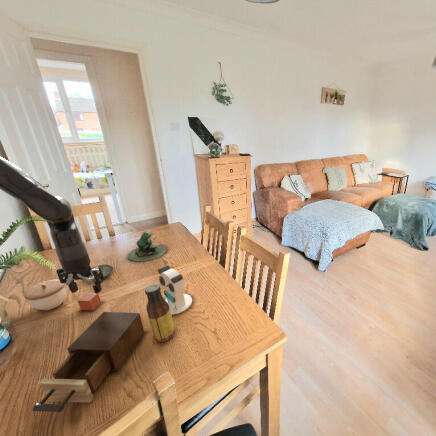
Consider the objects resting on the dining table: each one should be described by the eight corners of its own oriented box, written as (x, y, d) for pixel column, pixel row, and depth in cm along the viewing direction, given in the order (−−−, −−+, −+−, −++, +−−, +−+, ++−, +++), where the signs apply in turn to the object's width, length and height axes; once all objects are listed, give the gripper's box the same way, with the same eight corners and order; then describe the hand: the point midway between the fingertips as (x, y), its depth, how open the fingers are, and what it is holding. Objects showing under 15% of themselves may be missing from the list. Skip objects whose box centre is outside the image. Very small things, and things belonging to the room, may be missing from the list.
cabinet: (117, 371, 68) (109, 350, 65) (76, 370, 68) (66, 348, 65) (144, 332, 81) (139, 312, 77) (110, 331, 80) (103, 311, 77)
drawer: (74, 423, 55) (65, 405, 53) (29, 422, 55) (18, 403, 53) (123, 357, 71) (117, 340, 69) (88, 355, 71) (81, 339, 69)
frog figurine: (172, 252, 129) (169, 233, 125) (135, 265, 116) (130, 244, 112) (158, 241, 139) (155, 223, 135) (123, 252, 127) (118, 233, 122)
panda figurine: (154, 304, 93) (146, 272, 87) (181, 289, 101) (176, 259, 96) (169, 319, 86) (162, 285, 81) (197, 302, 95) (193, 270, 89)
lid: (107, 269, 115) (102, 260, 113) (118, 270, 110) (114, 261, 109) (82, 282, 106) (77, 272, 105) (93, 283, 102) (88, 273, 100)
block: (80, 310, 89) (77, 300, 87) (90, 301, 93) (86, 292, 91) (92, 310, 89) (89, 301, 87) (101, 302, 93) (98, 293, 91)
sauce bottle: (177, 326, 83) (168, 280, 76) (172, 342, 78) (162, 293, 70) (157, 328, 82) (146, 281, 75) (150, 344, 76) (138, 294, 69)
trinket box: (55, 293, 96) (47, 273, 93) (77, 297, 94) (70, 278, 91) (23, 312, 87) (13, 291, 83) (46, 317, 85) (37, 296, 81)
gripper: (101, 249, 86) (113, 286, 92) (62, 248, 86) (76, 284, 92) (85, 260, 79) (98, 299, 85) (41, 259, 79) (58, 298, 85)
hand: (86, 291), depth 88 cm, fingers open, 8 cm apart
